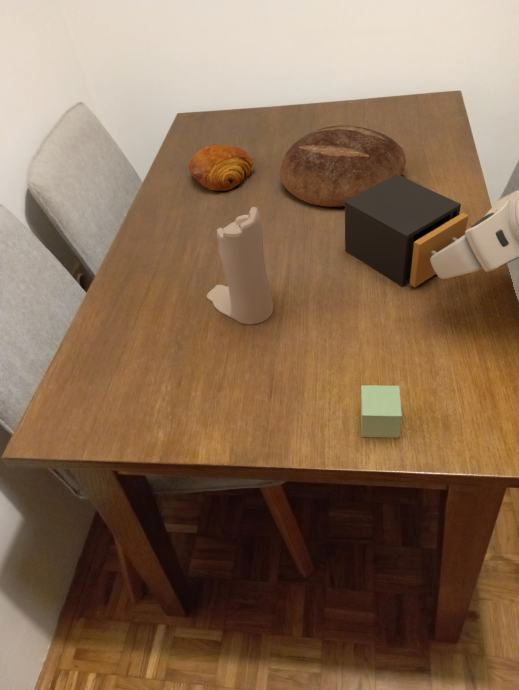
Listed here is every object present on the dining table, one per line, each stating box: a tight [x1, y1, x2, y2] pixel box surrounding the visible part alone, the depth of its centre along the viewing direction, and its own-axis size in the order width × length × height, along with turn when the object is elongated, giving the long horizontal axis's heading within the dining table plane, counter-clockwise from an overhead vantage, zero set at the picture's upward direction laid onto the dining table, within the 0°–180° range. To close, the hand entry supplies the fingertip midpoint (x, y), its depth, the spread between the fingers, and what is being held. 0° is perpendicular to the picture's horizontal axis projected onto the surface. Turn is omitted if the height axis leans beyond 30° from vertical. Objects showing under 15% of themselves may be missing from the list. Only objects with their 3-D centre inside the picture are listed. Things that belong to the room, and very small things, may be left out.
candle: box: [206, 206, 274, 326], centre depth 86 cm, size 7×14×20 cm, turn 50°
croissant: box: [187, 143, 254, 192], centre depth 123 cm, size 14×16×8 cm
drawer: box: [406, 212, 469, 288], centre depth 90 cm, size 18×11×9 cm, turn 36°
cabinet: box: [344, 174, 462, 288], centre depth 93 cm, size 15×13×11 cm
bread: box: [279, 125, 407, 208], centre depth 114 cm, size 26×27×10 cm
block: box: [360, 384, 403, 439], centre depth 71 cm, size 5×5×5 cm
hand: (456, 249), depth 85 cm, fingers open, 8 cm apart
